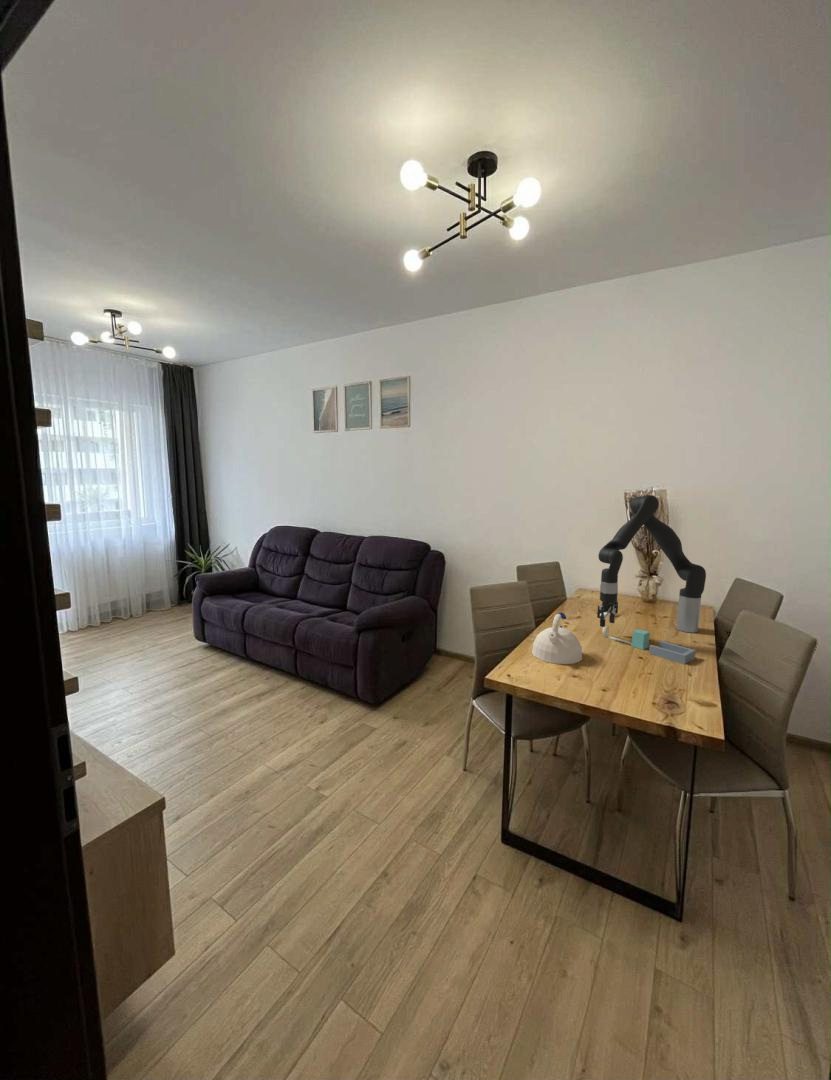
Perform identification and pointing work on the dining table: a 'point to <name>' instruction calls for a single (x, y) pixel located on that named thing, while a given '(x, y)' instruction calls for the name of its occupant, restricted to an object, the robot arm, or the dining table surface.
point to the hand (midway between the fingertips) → (607, 624)
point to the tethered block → (638, 638)
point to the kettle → (557, 644)
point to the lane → (672, 652)
